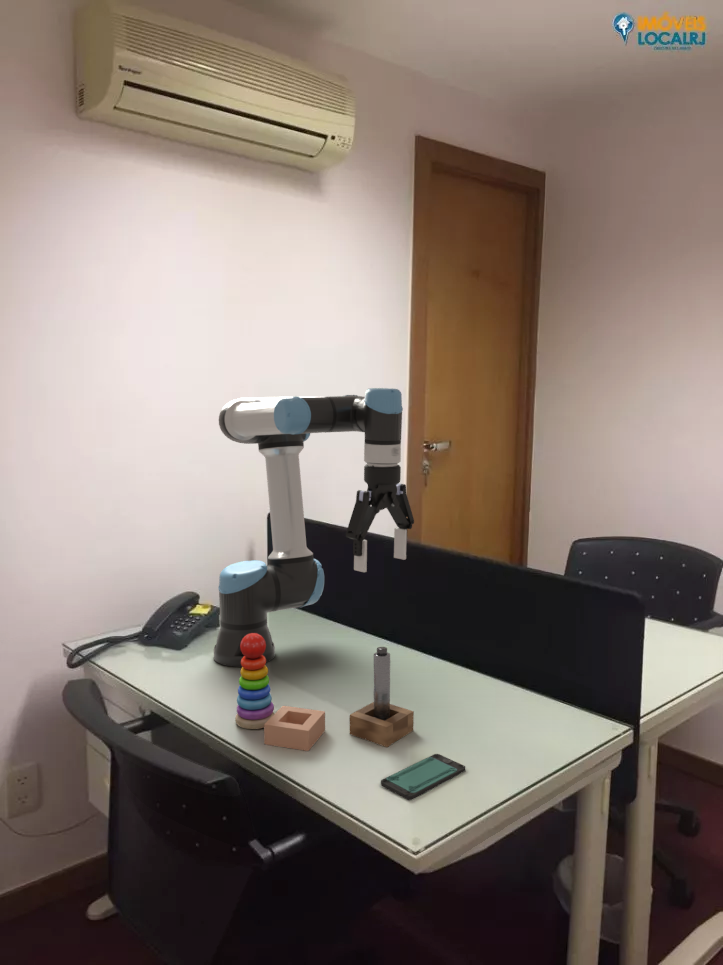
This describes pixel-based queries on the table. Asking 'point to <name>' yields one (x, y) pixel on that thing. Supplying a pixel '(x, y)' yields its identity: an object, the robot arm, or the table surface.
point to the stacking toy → (253, 685)
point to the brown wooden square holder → (381, 725)
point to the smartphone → (422, 776)
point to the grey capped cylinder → (382, 684)
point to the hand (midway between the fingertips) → (380, 564)
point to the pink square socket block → (294, 728)
